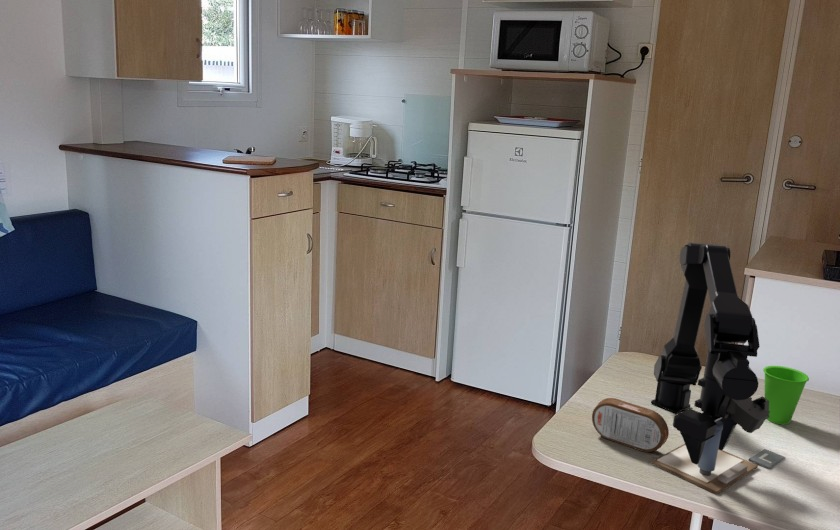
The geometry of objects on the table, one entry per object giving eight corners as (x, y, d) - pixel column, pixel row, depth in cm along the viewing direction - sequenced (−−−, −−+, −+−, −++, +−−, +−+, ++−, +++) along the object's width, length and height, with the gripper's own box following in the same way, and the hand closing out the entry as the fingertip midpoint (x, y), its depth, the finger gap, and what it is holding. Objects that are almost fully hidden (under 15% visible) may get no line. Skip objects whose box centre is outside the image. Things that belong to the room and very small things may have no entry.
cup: (805, 431, 154) (815, 383, 152) (760, 425, 156) (769, 378, 153) (793, 413, 163) (802, 368, 160) (750, 408, 165) (758, 363, 162)
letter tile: (748, 460, 140) (748, 458, 140) (764, 450, 144) (764, 448, 144) (768, 469, 137) (769, 466, 137) (784, 458, 142) (785, 456, 141)
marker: (692, 471, 133) (701, 421, 130) (701, 466, 135) (710, 416, 132) (708, 479, 130) (718, 427, 128) (717, 474, 132) (726, 423, 130)
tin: (666, 453, 141) (672, 413, 139) (661, 459, 138) (667, 419, 136) (593, 429, 149) (598, 391, 147) (587, 434, 147) (592, 396, 145)
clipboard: (651, 463, 136) (652, 456, 136) (694, 441, 147) (695, 434, 146) (716, 494, 127) (717, 486, 127) (757, 468, 137) (759, 460, 137)
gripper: (740, 405, 116) (725, 491, 120) (789, 380, 128) (774, 460, 132) (677, 382, 124) (665, 464, 128) (729, 361, 136) (716, 436, 140)
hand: (707, 456), depth 132 cm, fingers open, 9 cm apart
